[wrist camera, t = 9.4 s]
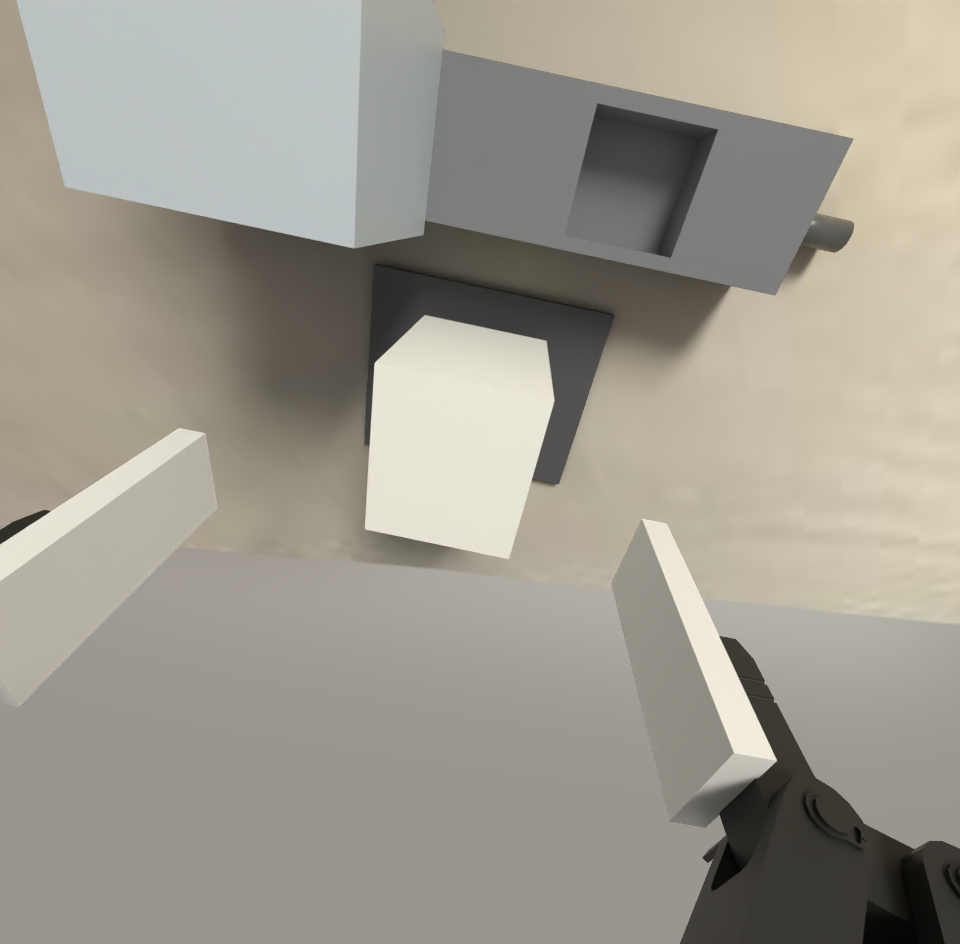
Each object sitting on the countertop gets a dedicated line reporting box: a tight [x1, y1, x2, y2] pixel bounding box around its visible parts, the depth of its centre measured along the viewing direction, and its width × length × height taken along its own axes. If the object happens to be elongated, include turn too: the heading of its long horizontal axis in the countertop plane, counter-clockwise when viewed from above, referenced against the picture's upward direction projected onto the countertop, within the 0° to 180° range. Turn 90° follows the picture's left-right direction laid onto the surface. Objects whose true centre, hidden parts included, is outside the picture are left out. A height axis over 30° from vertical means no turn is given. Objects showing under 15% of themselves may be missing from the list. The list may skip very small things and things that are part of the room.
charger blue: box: [17, 0, 445, 248], centre depth 13 cm, size 7×6×9 cm
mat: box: [365, 264, 614, 484], centre depth 24 cm, size 12×10×1 cm
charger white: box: [365, 315, 554, 559], centre depth 20 cm, size 7×6×9 cm
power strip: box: [425, 50, 854, 295], centre depth 17 cm, size 27×5×4 cm, turn 79°
